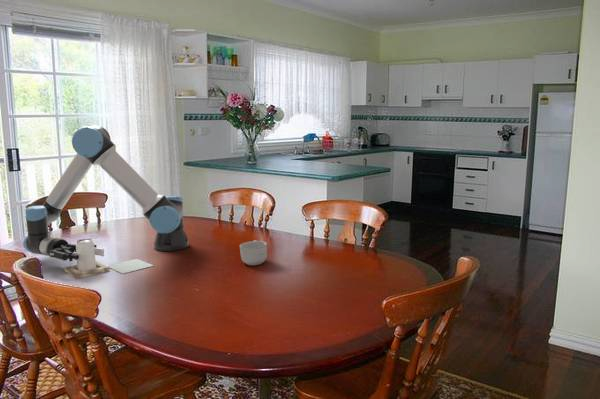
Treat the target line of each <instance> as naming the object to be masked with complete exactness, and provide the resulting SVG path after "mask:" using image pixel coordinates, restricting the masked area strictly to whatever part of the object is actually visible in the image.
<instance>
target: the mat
mask: <svg viewBox="0 0 600 399" xmlns="http://www.w3.org/2000/svg"><path fill="white" fill-rule="evenodd" d="M107 266H108V267H109V270H110V269H111V270H113V271H115V272H116V273H120V274H121V275H125V274H129V273H132V272H136V271H141V270H144V269H148V268H152V267H154V265H153V264H151V263H148V262H146V261H143V260H140V259H138V258H134V259H131V260H127V261H121V262H118V263H114V264H110V265H107Z"/></svg>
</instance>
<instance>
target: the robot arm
mask: <svg viewBox="0 0 600 399" xmlns="http://www.w3.org/2000/svg"><path fill="white" fill-rule="evenodd" d="M71 144H72V145H71V146H72V148H73V150H74V151H75V152H76V154H75V156H74V157H73V158H72V159H71V162H70V163H69V165H68V166H67V168H66V169H65V171H64V172H63V174H62V175H61V177H60V178H59V180H58V182H56V184H55V185H54V187H53V188H52V190H51V191H50V193H49V195H48V196H47V197H46V199H45V201H44V202H43V203H42V205H32V206H28V207H26V209H25V217H24V218H25V222H26V231H27V236H26V237H25V238H24V239H23V242H22V243H23V245H22V246H23V248H24V249H25V250H26V251H27V252H29V253H30V254H31V253H32V254H34V255H41V256H46V257H49V258H53V259H54V258H55V259H58V260H61V261H68V260H69V262H73V261H74V260H75V261H77V260H79V261H84V262H86V261H87V256H86V254H83V253H78V252H76V244H72V243H69V242H68V241H67V240H66V239H62V238H57V237H51V236H50V235H49V225H50V224H51V223H53V222H55V221H57V220H58V219H59V217H60V215H61V212H62V210H63V208H64V207H65V206H66V204H68V201H69V200H70V199H71V197H72V195H73V194H74V193H75V191H76V189H77V188H78V187H79V185H80V184H81V182H82V181H83V179H84V178H85V176H86V175H87V173H88V172H89V170H90V169H91V168H92V166H99V167H100V168H101V169H102V170H103V171H104V172H105V173H107V174H108V176H109V177H110V178H111V179H112V180H113V181H114V182H115V183H116V184H117V185H118V186H119V187H120V188H121V189H122V190H123V191H124V192H125V193H126V194H128V196H129V197H131V199H132V200H134V202H135V203H136V204H137V205H138V206H139V207H140V208H141V209H142V215H143V216H144V217H145V218H146V219H147V220H148V221H149V223H150V226H151V228H152V229H153V230H154V231H156V235H155V238H154V241H153V248H154V249H155V250H156V251H160V252H170V251H171V252H172V251H173V252H174V251H181V250H184V249H186V248H188V247H189V244H190V243H189V242H190V241H189V239H188V236H187V233H186V231H185V227H184V226H185V225H184V207H183V206H184V205H183V204H184V202H183V197H182V196H180V195H168V196H167V195H165V194H159V193H157V191H155V190H154V188H153V187H152V186H151V185H150V184H148V182H147V181H146V180H145V179H144V178H143V177H142V176H141V175H140V174H139V173H138V172H137V171H136V170H134V168H133V167H132V166H131V165H130V164H129V163H128V162H127V161H126V160H125V159H124V158H123V157H122V156H121V155H120V154H119V153H118V152H117V150H116V147H117V146H116V144H115V143H114V142H113V141H112V140H111V135H110V133H109V132H108V130H107V129H106V128H105V127H102V126H101V125H84V126H82V127H80V128H78V129H77V130H76V131H75V132H74V133H73V135H72V138H71ZM107 174H106V175H107ZM94 248H95V256H101V257H104V256H105V250H104V248H101V247H97V244H94Z"/></svg>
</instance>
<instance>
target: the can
mask: <svg viewBox="0 0 600 399" xmlns="http://www.w3.org/2000/svg"><path fill="white" fill-rule="evenodd" d="M75 245H76V252H78V253H83V254H86V256H87V261H86V262H84V261H79V260H76V265H77V266H78V271H80V272H84V271H88V270H92V269H96V255H95V248H94V245H95V243H94V241H93V239H92V238H85V239H84V238H83V239H79V240H77V241H76V244H75Z"/></svg>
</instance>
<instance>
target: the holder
mask: <svg viewBox="0 0 600 399" xmlns="http://www.w3.org/2000/svg"><path fill="white" fill-rule="evenodd" d="M108 266H109V265H105V264H103V263H101V262H98V261H96V269H92V270H88V271H84V272H80V271H78V266H77V264H75V265H70V266H65V267H64V272H65V273H67V274H69V275H71V276H73V277H75V278H76V279H81V278H86V277H90V276H94V275H97V274H98V275H99V274H102V273H105V272H106V273H107V272H110V268H109V267H108Z"/></svg>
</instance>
